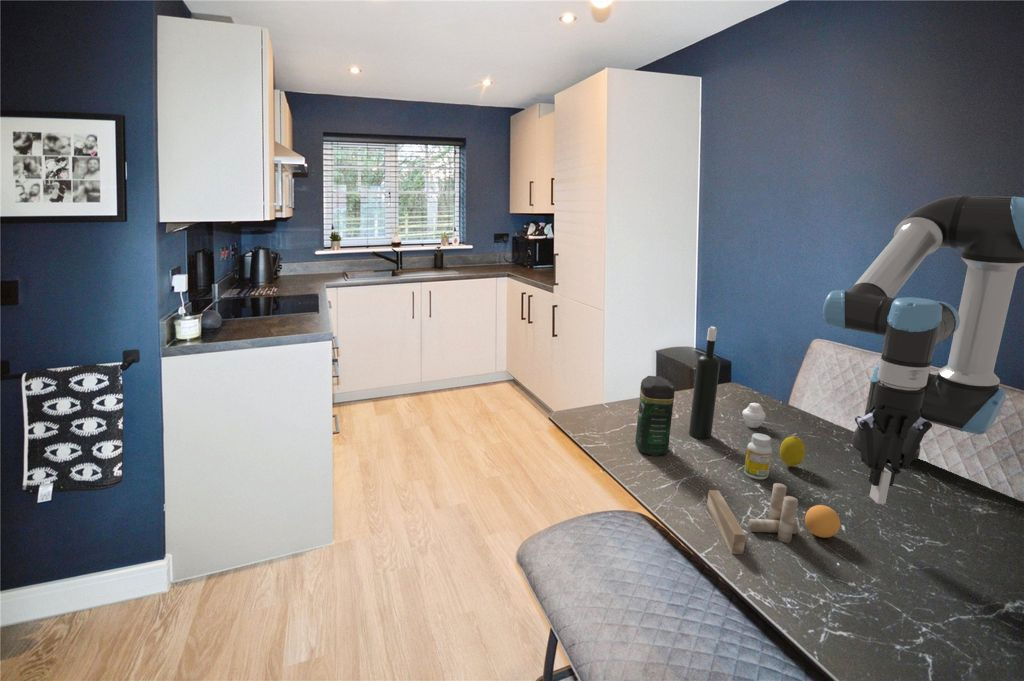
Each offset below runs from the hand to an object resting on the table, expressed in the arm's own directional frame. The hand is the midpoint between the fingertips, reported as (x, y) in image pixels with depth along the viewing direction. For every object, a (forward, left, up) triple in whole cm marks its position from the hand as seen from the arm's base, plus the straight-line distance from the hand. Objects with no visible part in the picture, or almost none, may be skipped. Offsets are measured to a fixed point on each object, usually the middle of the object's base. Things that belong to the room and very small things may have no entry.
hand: (877, 499), depth 112 cm
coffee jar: (+35, -36, -8) cm, 51 cm away
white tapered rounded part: (+3, -54, -8) cm, 54 cm away
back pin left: (+18, +3, -8) cm, 20 cm away
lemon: (+3, -29, -8) cm, 30 cm away
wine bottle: (+20, -46, -8) cm, 51 cm away
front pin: (+15, 0, -7) cm, 16 cm away
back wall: (+28, 0, -8) cm, 29 cm away
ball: (+10, +1, -5) cm, 11 cm away
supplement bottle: (+13, -24, -8) cm, 28 cm away
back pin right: (+18, -2, -8) cm, 19 cm away
